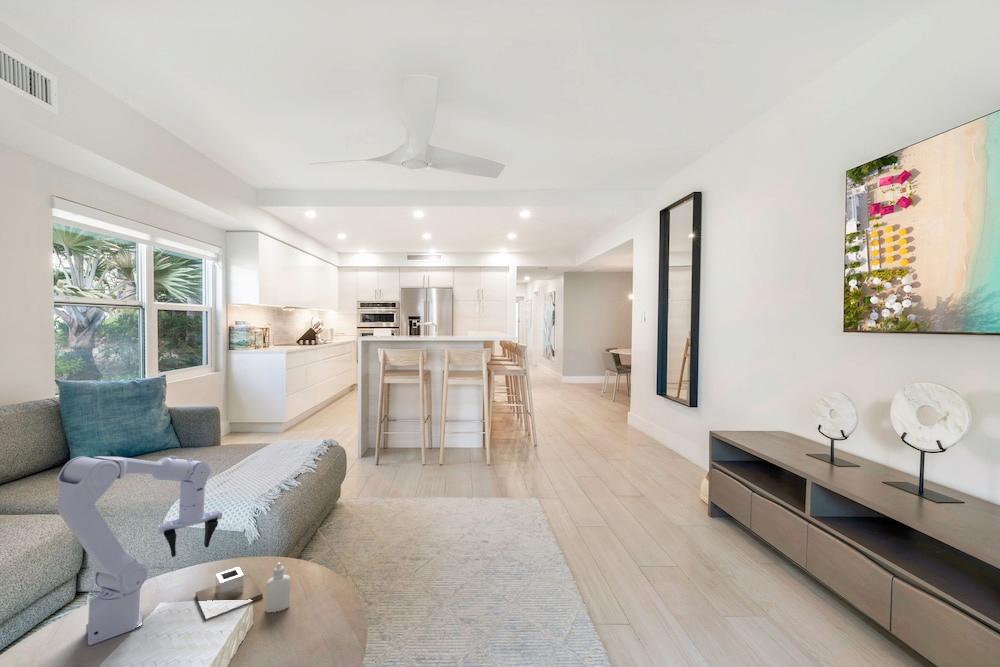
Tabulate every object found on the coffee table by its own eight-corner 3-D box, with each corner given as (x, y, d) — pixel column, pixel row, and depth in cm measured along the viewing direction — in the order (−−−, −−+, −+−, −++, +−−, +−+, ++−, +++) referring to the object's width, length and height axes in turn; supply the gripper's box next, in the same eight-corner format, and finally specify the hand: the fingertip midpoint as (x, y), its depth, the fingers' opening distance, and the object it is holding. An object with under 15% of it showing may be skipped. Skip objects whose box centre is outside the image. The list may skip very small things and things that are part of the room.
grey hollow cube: (219, 601, 110) (220, 582, 110) (215, 592, 113) (216, 574, 114) (243, 593, 114) (243, 574, 114) (237, 584, 117) (238, 566, 117)
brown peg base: (205, 620, 104) (206, 599, 104) (195, 596, 113) (196, 577, 113) (262, 597, 114) (263, 578, 114) (248, 578, 123) (249, 560, 123)
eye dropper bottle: (272, 602, 112) (273, 558, 112) (292, 603, 111) (293, 559, 112) (262, 613, 107) (263, 567, 107) (283, 614, 107) (284, 568, 107)
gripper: (218, 492, 126) (217, 537, 126) (157, 505, 115) (155, 554, 115) (224, 499, 121) (222, 545, 121) (161, 513, 110) (159, 564, 110)
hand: (190, 550), depth 118 cm, fingers open, 7 cm apart
